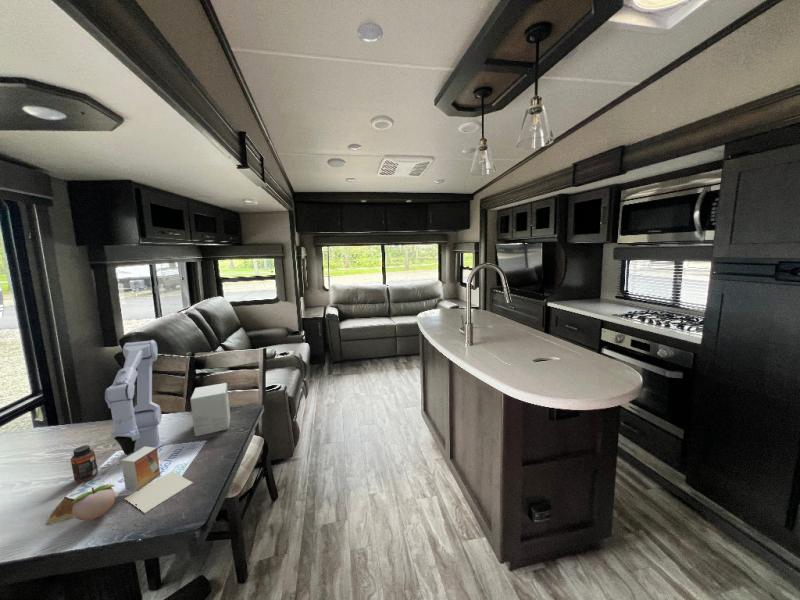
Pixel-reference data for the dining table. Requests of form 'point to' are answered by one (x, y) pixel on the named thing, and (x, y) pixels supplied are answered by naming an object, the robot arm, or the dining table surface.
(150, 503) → the mat
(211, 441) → the dining table surface
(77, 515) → the decorative fruit
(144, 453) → the small box
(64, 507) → the tan flat wedge
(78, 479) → the supplement bottle
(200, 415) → the supplement box
